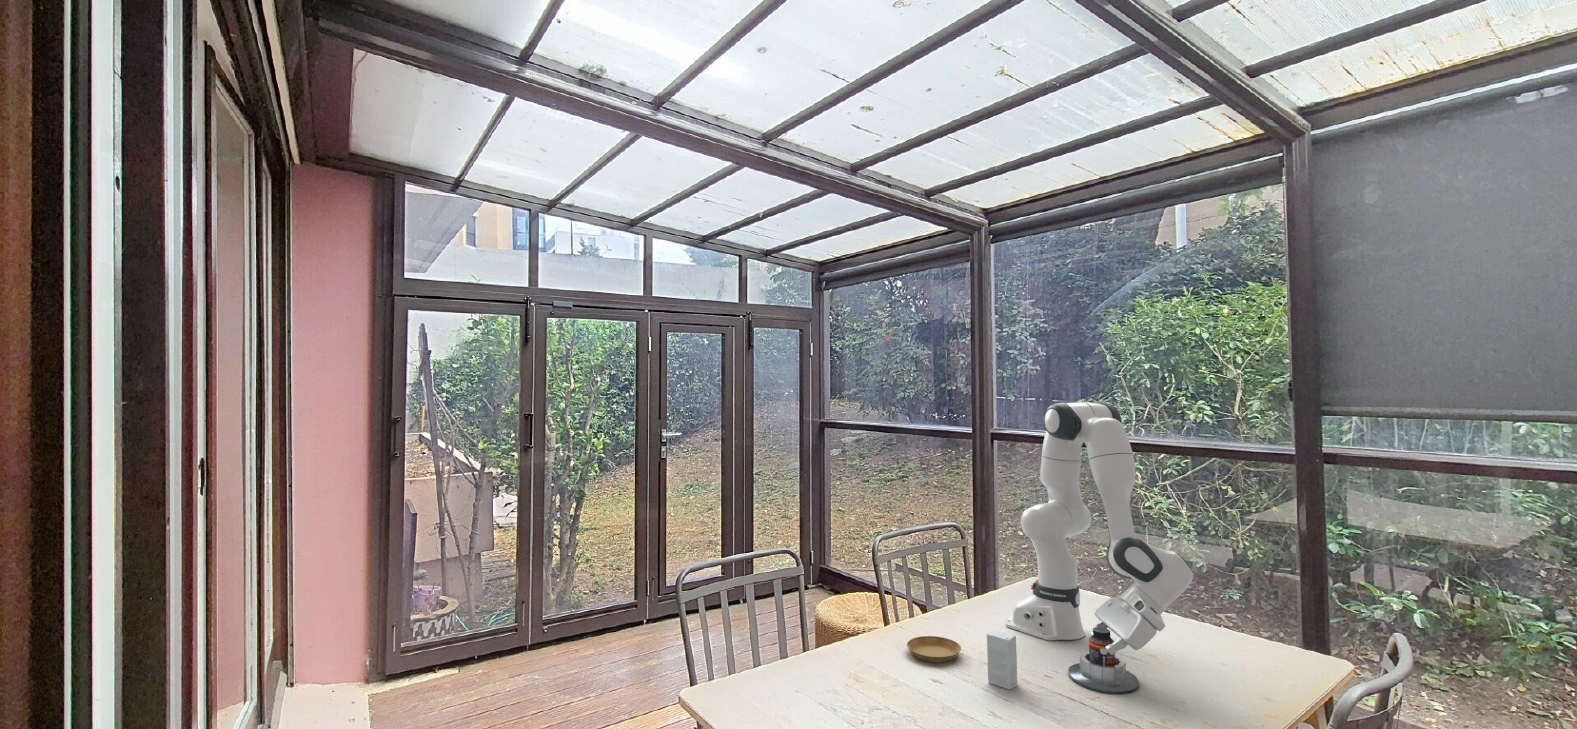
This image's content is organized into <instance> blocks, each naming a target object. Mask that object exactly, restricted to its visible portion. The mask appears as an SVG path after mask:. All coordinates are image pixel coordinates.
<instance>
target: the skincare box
mask: <svg viewBox="0 0 1577 729" xmlns="http://www.w3.org/2000/svg"><path fill="white" fill-rule="evenodd" d="M986 647H987V649H986V650H987V652H986V653H987V654H986V655H987V657H986V658H987V683H988V684H990V685H991V684H992V685H994V686H998V687H1000V688H1004V689H1007V690H1012V689H1014V688H1015V687H1016V686H1017V685H1018V658H1017V656H1018V655H1017V636H1016V635H1014V634H1010V633H1006V632H1001V631H999V630H998V631H997V630H993V631H990V633H987V634H986Z"/></svg>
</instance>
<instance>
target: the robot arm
mask: <svg viewBox="0 0 1577 729" xmlns="http://www.w3.org/2000/svg"><path fill="white" fill-rule="evenodd" d="M1043 426H1044V428H1045V432H1044V433H1045V434H1044V438H1043V443H1042V447H1041V449H1042V450H1041V459H1040V460H1041V462H1040V472H1039V474H1040V475H1039V480H1040V483H1041V484H1042V485H1043V486H1044V487H1045V488H1046V491H1047V495H1048V502H1044V503H1043V502H1042V503H1037V504H1034V505H1032V506H1030V507H1029V508H1027V509H1025V510H1024V511H1023V512H1022V514H1021V516H1020V527H1021V529H1022V532H1023V534H1025V536H1027V537H1028V538H1029V539H1030V541H1031V542H1032V545H1033V546H1034V550H1035V553H1036V559H1037V577H1038V578H1037V579H1036V580H1035V581H1034V582H1033V583H1031V585H1030V590H1032V592H1031V593H1030V594H1028V595H1027V596H1026V597H1023V598H1021V600H1019V601H1017V603H1016V604H1015V606H1014V608H1013V613H1012V615H1010V616H1009V617H1008V618H1006V620H1005V627H1007V628H1009V629H1012V630H1015V631H1019V632H1021V633H1025V634H1027V635H1030V636H1033V637H1037V638H1040V639H1043V640H1045V641H1059V640H1062V641H1063V640H1065V641H1069V640H1071V641H1072V640H1073V641H1074V640H1079V639H1082V638H1083V637H1085V630H1084V627H1083V623H1082V620H1081V619H1082V618H1081V612H1080V605H1081V604H1080V603H1081V593H1080V586H1079V585H1078V562H1077V559H1076V557H1075V556H1074V555H1073V554H1071V553H1070V551H1069V548H1068V544H1067V538H1069V537H1075V536H1078V535H1080V534H1081V533H1084V532H1086V530H1088V529H1089V527H1090V526H1091V524H1092V514H1091V511H1090V510H1089V508H1088V506H1086V505H1085V503H1084V501H1083V498H1082V493H1081V489H1080V488H1081V487H1080V486H1081V485H1080V483H1081V482H1080V481H1081V480H1080V476H1081V460H1082V445H1083V444H1085V448H1086V453H1087V458H1088V462H1089V466H1090V471H1091V474H1092V477H1093V479H1094V482H1095V485H1096V488H1097V489H1098V493H1099V495H1100V498H1101V500H1102V503H1103V506H1104V510H1105V511H1104V512H1105V516H1106V522H1107V529H1108V533H1109V544H1108V548H1107V550H1106V558H1105V559H1106V562H1107V565H1108V567H1109V569H1110V570H1111V571H1112V572H1113V573H1114V574H1115V575H1116V576H1118V577H1121V578H1123V579H1127V580H1133V581H1134V582H1133V583H1132V584H1131V585H1130V586H1129V587H1128V588H1127V589H1125V591H1124V592H1123V593H1122V594H1121V595H1118V596H1113V597H1110V598H1109V599H1108V600H1106V601H1105V602H1103V604H1101V605H1100V606H1099V607H1098V608H1096V609H1095V612H1094V616H1095V617H1096V618H1097V619H1098V620H1097V621H1096V624H1095V626H1094V628H1095V627H1101V628H1106V629H1108V630H1110V631H1112V633H1114V634H1115V635H1116V636H1117V638H1116V639H1115V641H1114V643H1112V644H1110V643H1109V644H1108V645H1107V646H1106V647H1105V649H1106V650H1107V651H1108V652H1109V653H1110V654H1111V655H1113V654H1114V653H1115V654H1116V653H1117V652H1118V651H1120V650H1123V649H1126V647H1127V646H1129V647H1130V648H1131V649H1133V650H1134V651H1137V650H1140V649H1142V648H1143V647H1145V646H1146V645H1147V644H1148V643H1149V642H1150V641H1151V640H1152V639H1153V638H1155V636H1156V634H1157V631H1158V632H1162V631H1163V630H1164V629H1165V627H1166V624H1165V622H1164V620H1163V617H1162V613H1164V612H1165V611H1166V608H1167V607H1168V605H1170V603H1172V602H1174V601H1176V600H1177V599H1178V598H1179V597H1180V596H1181V595H1182V594H1183V593H1184V592H1185V590H1186V589H1187V588H1188V586H1190V584H1191V582H1192V581H1193V579H1194V572H1193V569H1192V568H1191V566H1190V565H1189V563H1188V562H1187V561H1186V559H1184V558H1183V556H1181V555H1180V554H1179V553H1177V552H1176V551H1174V550H1168V549H1164V548H1159V547H1157V546H1155V545H1152V544H1149V543H1148V542H1146V541H1144V540H1142V539H1139V538H1137V537H1136V533H1135V529H1134V528H1135V527H1134V523H1133V517H1132V511H1131V496H1132V492H1133V489H1134V486H1135V483H1136V463H1135V457H1134V454H1133V450H1132V446H1131V443H1130V441H1129V437H1128V434H1127V432H1126V430H1125V427H1124V425H1123V424H1122V416H1121V413H1120V412H1119V410H1118V409H1117V407H1115V406H1113V405H1111V404H1107V403H1105V402H1104V403H1103V402H1099V403H1097V402H1092V401H1091V402H1088V401H1080V402H1057V403H1054V404H1052V405H1051V404H1050V406H1048V407H1047V409H1046V410H1045V413H1044V416H1043ZM1091 636H1093V630H1092V631H1090V637H1091Z"/></svg>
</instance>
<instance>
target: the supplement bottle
mask: <svg viewBox="0 0 1577 729" xmlns="http://www.w3.org/2000/svg"><path fill="white" fill-rule="evenodd" d="M1092 631H1093V636H1091V635H1090V636H1089V639H1088V652H1089V661H1090V662H1092V663H1095V664H1099V665H1105V666H1114V665H1115V655H1116V652H1115V653H1114V654H1113V655H1111V654H1110V653H1109V652H1108V651H1107V650H1106V649H1105V647H1106V646H1107V645H1108V644H1109V643H1110V644H1112V643H1114V642H1115V641H1114V639H1113V638H1112V637H1111V630H1110V629H1109V628H1107V629H1106V628H1101V627H1095V626H1094V627H1093V628H1092Z"/></svg>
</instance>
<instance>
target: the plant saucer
mask: <svg viewBox="0 0 1577 729" xmlns="http://www.w3.org/2000/svg"><path fill="white" fill-rule="evenodd" d="M906 647H907V648H908V650H909V651H910V653H911V654H912V655H914V656H915V657H916V658H917V659H919V660H921V661H924V662H928V663H936V664H937V663H946V662H950V661H952V660H953V659H954V658H956V657H957V656H958V655H959V654H960V652H961V651H962V647H961V645H960V644H959V643H958V642H956V641H955V640H953V639H950V638H948V637H943V636H934V635H923V636H917V637H914V638H911V639H909V640H908V641H907V643H906Z"/></svg>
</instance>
